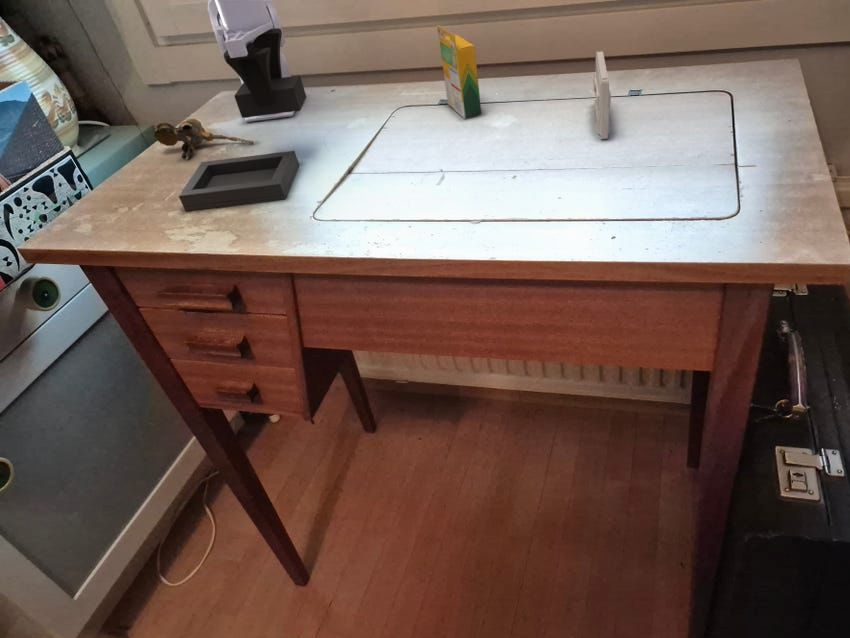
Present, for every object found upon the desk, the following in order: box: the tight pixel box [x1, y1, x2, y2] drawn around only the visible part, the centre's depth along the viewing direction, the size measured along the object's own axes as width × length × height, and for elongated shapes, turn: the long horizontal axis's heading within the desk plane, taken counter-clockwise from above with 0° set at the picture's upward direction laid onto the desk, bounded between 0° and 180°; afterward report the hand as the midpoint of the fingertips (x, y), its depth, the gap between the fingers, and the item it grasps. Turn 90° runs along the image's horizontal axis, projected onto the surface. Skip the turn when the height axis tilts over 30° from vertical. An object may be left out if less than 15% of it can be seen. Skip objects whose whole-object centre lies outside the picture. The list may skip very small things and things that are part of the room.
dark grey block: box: [233, 74, 307, 119], centre depth 89 cm, size 8×5×3 cm, turn 92°
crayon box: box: [436, 24, 482, 120], centre depth 96 cm, size 7×3×12 cm, turn 23°
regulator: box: [153, 118, 254, 160], centre depth 100 cm, size 8×4×15 cm
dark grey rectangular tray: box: [178, 150, 300, 212], centre depth 88 cm, size 10×13×2 cm
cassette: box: [593, 49, 612, 140], centre depth 88 cm, size 12×2×8 cm, turn 176°
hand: (271, 97), depth 89 cm, fingers closed on dark grey block, 5 cm apart
